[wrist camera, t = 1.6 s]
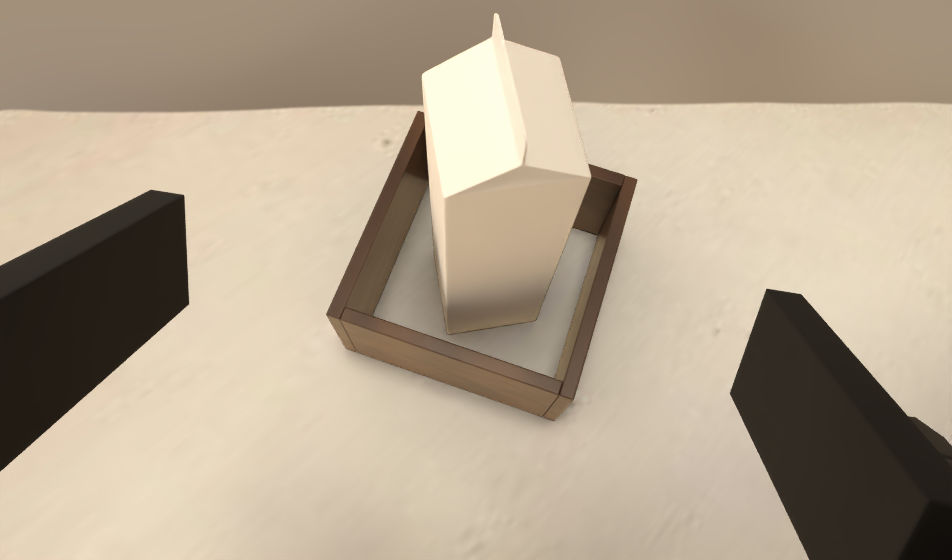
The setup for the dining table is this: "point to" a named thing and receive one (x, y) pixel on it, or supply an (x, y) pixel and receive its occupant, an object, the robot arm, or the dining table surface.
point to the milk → (500, 179)
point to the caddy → (449, 361)
